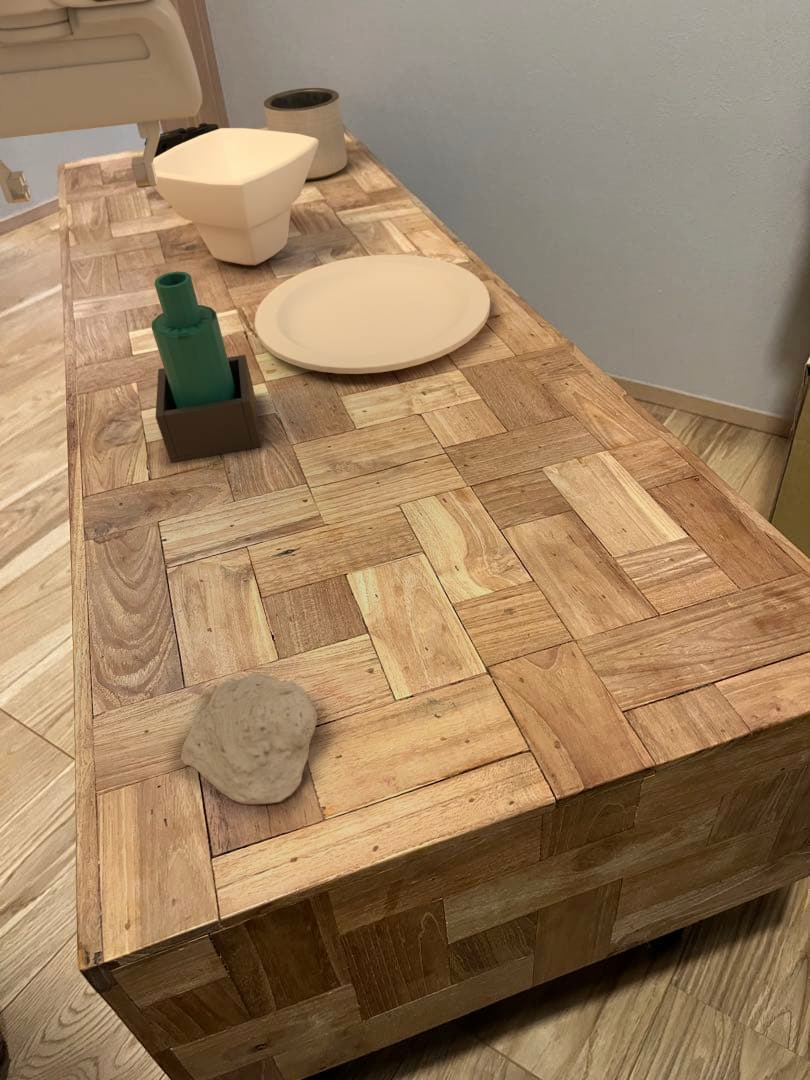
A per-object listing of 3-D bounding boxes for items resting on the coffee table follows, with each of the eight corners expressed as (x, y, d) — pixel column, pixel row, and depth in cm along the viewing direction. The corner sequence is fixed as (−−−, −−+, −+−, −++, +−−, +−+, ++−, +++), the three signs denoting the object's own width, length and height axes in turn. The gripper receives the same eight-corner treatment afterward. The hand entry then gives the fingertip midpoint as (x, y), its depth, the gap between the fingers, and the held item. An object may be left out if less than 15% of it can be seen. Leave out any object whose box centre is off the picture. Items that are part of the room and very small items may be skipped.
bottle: (184, 447, 82) (137, 299, 72) (185, 415, 87) (140, 270, 76) (244, 437, 83) (206, 288, 72) (241, 405, 87) (205, 260, 76)
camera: (214, 159, 149) (203, 111, 143) (234, 168, 144) (224, 119, 139) (142, 183, 142) (128, 133, 137) (161, 192, 138) (147, 142, 133)
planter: (363, 165, 141) (355, 93, 133) (308, 188, 134) (297, 114, 127) (314, 152, 147) (304, 83, 140) (260, 174, 141) (246, 103, 134)
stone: (167, 679, 58) (297, 633, 57) (198, 715, 61) (322, 672, 60) (157, 802, 51) (306, 752, 50) (193, 836, 54) (334, 789, 53)
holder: (170, 462, 82) (155, 416, 78) (172, 413, 88) (158, 368, 84) (261, 447, 82) (249, 400, 79) (255, 399, 89) (245, 354, 85)
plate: (214, 367, 95) (209, 349, 93) (320, 262, 113) (317, 246, 112) (444, 402, 86) (443, 383, 84) (518, 282, 104) (518, 264, 103)
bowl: (266, 296, 107) (244, 186, 97) (156, 273, 115) (125, 169, 105) (344, 239, 118) (331, 136, 109) (239, 222, 126) (217, 124, 117)
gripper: (-170, -4, 49) (-69, 225, 59) (174, -36, 52) (219, 190, 61) (-140, -20, 54) (-51, 195, 63) (175, -49, 56) (216, 163, 66)
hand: (84, 192), depth 62 cm, fingers open, 8 cm apart
